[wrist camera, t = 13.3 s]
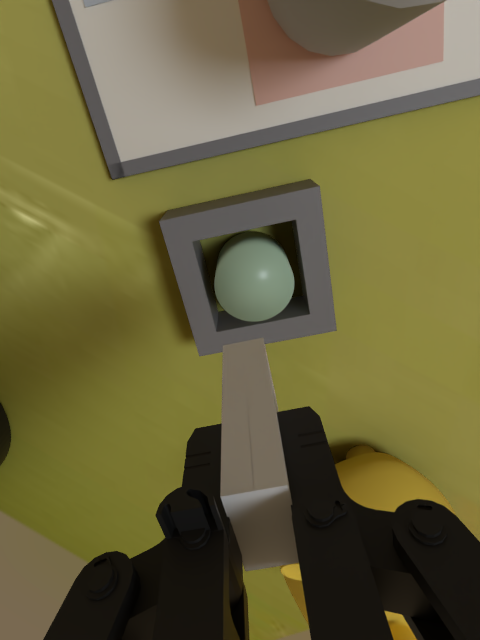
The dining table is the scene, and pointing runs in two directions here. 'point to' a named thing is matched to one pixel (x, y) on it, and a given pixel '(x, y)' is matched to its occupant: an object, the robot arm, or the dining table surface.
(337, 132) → the dining table surface
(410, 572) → the robot arm
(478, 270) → the dining table surface
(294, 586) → the teapot
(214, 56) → the picture sheet
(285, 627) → the dining table surface
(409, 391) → the dining table surface
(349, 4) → the can
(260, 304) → the button
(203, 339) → the button housing
